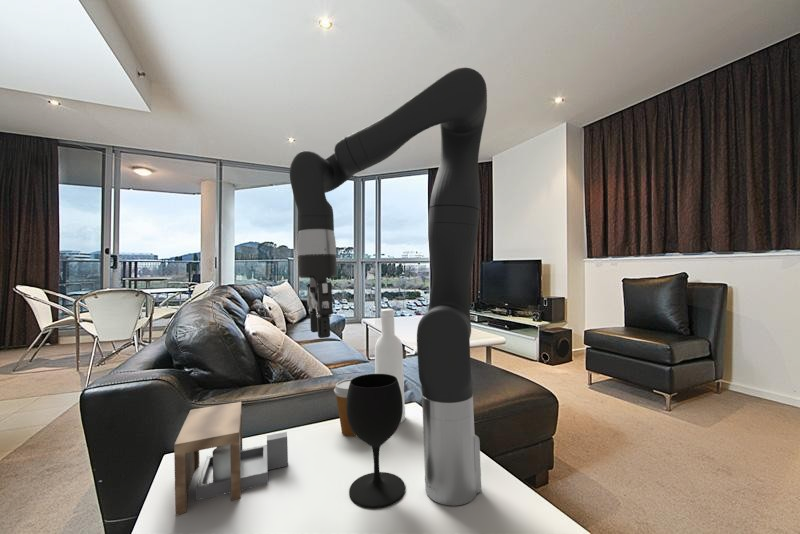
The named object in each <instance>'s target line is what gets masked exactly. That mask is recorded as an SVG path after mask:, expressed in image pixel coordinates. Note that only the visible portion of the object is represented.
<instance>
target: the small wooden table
mask: <svg viewBox="0 0 800 534" xmlns="http://www.w3.org/2000/svg"><path fill="white" fill-rule="evenodd" d="M242 408H243V407H242V401H237V402H231V403H223V404H218V405H212V406H205V407H200V408H194V409H190V410H189V413H188V415H187V416H186V419H185V420H184V422H183V425H182V426H181V429H180V431H179V433H178V436H177V438H176V439H175V440H176V441H175V442H174V444H173V445H174V447H173V449H174V450H173V451H174V452H173V453H174V457H173V458H174V460H173V461H174V503H175V506H174V508H175V509H174V512H175V516H178V515H177V514H179V515H182V514H186V513H187V510H188V491H189V488H190V486H191V481H192V477H193V476H194V471H195V468H199V466H200V451H202V450H208V449H211V448H212V449H213V448H217V447H218V446H223V445H228V444H230V459H231V492H230V496H231V497H230V499H231V501H236V500H240V499H241V496H242V495H241V493H242V490H241V479H240V450H243V417H242V416H243V412H242Z"/></svg>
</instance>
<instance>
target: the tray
mask: <svg viewBox="0 0 800 534" xmlns="http://www.w3.org/2000/svg"><path fill="white" fill-rule="evenodd" d="M288 452H289V451H288V431H285V432H279V433H273V434H269V435H266V444H264V445H259V446H253V447H249V448H242V450H240V479H241V491H243V490H247V489H246V488H248V489H251V488H250V487H252V488H256V487H261V486H265V485H268V483H269V482H268V478H269V477H268V476H269V475H268V474H269V473H268V471H270V470H275V469H279V468H284V467H288V466H289V453H288ZM255 486H256V487H255ZM242 489H243V490H242ZM229 492H230V493H231V459H230V444H228V445H223V446H218V447H215V448H214V449H213V450H212V455H207V456H206V458H205V461H204V464H203V467H202V469H201V472H200V475H199V479H198V481H197V484H196V488H195V493H196V494H195V495H196V497H195V498H196V500H195V501H200V500H203V499H204V500H205V499H209V498H212V497H217V496H221V494H222V495H225V494H224V493H226V494H229Z"/></svg>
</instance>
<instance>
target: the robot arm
mask: <svg viewBox="0 0 800 534" xmlns="http://www.w3.org/2000/svg"><path fill="white" fill-rule="evenodd" d="M487 108H488V90H487V83H486V81H485V78H484V76H483V75H482V74H481V73H480V72H479V71H477V70H475V69H473V68H471V67H459V68H458V67H457V68H455V69H453V70H451V71H449V72H447V73H445V74H444V75H442V76H440V77H439V78H438V79H437V80H436V81H433V83H432V84H430V85H429V86H426V88H424V89H422V91H420V92H419V93H417V94H416V95H415V96H413V97H411V98H410V99H409V100H408V101H406V102H404V103H403V104H402V105H400V106H399V107H397V108H396V109H394V110H393V111H391V112H389V113H388V114H387V115H385V116H383V117H382V118H380V119H378V120H376V121H375V122H373V123H370V124H369V125H367V126H365V127H363V128H361V129H358V130H357V131H355V132H353V133H350V134H349V135H346V136H344V137H342V138H341V139H339V140H338V141H337V142H336V143H335V145H334V147H333V151H334V152H333V153H331V155H329V156H327V157H326V158H324V157H322V156H321V155H320V154H318V153H316V152H315V151H312V150H309V149H308V150H302V151H299V152H297V153H296V154H295V155H294V157H292V160H291V162H290V166H289V179H290V180H289V181H290V185H291V190H292V193H293V198H294V202H295V204H296V209H297V224H298V225H297V226H298V227H297V229H298V230H297V231H298V232H297V233H298V235H297V265H298V266H297V270H298V271H297V273H298V277H299V278H300V279H309V282H307V283H306V296H307V299H306V300H307V307H306V309H307V311H308V314H309V315H310V316H309V320H310V322H309V323H310V324H309V325H310V331H311V333H317V337H318V338H319V339H325V338H330V337H331V322H330V319H331V316H332V315H333V313H334V307H333V283H332V282H330V281H329V282H328V280H327V279H328V278H333V277H336V276H337V275H338V274H337V273H338V272H337V271H338V270H337V269H338V268H337V248H336V247H337V245H336V244H337V242H336V237H335V228H334V227H335V223H334V221H335V220H334V210H333V207H332V205H331V204H330V202H329V201H328V199H327V197H326V196H327V195H326V193H329V192H331V191H334V190H336V189H337V188H339V187H340V186H342V185H343V184H344V183H346V182H347V181H348V180H349V179H351V178H352V177H353V176H355V174H357V173H360V172H363V171H364V170H366V169H369V168H371V167H373V166H375V165H377V164H380V163H381V162H383V161H385V160H386V159H388V158H389V157H391V156H393V154H395V153H396V152H397V151H399V149H400V148H402V147H403V146H404V145H405V144H406V143H408V142H409V141H410V140H411V139H412V138H414V137H416V136H417V135H418V134H420V133H422V132H424V131H426V130H429V129H430V128H432V127H435V126H438V125H439V127H440V159H439V160H440V161H439V166H438V169H437V173H436V176H435V179H434V183H433V187H432V190H431V194H430V202H429V212H428V224H427V225H428V227H427V233H428V234H427V237H428V239H427V241H428V249H429V258H430V265H431V276H432V277H431V291H430V296H429V297H430V298H429V303H428V309H427V312H425V314H424V315H422V317H421V318H420V320H419V322H418V325H417V328H416V329H417V330H416V350H417V351H416V352H417V355H416V356H417V369H418V378H419V379H418V380H419V382H420V385H421V401H422V403H421V405H422V426H423V427H422V429H423V430H422V431H423V456H424V461H423V462H424V487H425V493H426V495H427V496H428V498H430V499H431V500H433V501H435V502H436V503H438V504H440V505H445V506H461V505H466V504H467V503H468V504H469V502H471V501H473V500H474V499H475V498H476V496H477V494H478V493H480V492H481V493H482V473H481V471H482V470H481V468H482V467H481V447H480V445H481V444H480V443H481V442H480V437H479V436H478V435H477V434H475V419H474V418H475V417H474V415H475V414H474V412H475V411H474V389H473V388H474V387H473V386H474V385H473V379H472V378H473V377H472V368H471V366H472V365H471V349H470V348H471V345H470V341H471V340H470V339H471V335H472V323H471V308H470V307H471V304H470V301H471V300H470V298H471V297H470V296H471V295H470V286H471V284H470V282H471V277H472V276H471V275H472V270H473V266H474V261H475V260H474V259H475V255H476V247H477V239H478V232H479V219H480V205H481V204H480V199H481V197H480V193H481V192H480V174H479V154H480V147H481V141H482V136H483V129H484V124H485V120H486V115H487Z"/></svg>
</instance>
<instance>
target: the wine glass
mask: <svg viewBox="0 0 800 534" xmlns="http://www.w3.org/2000/svg"><path fill="white" fill-rule="evenodd" d="M351 379H352V380H351V381H350V385H349V389H348V393H347V400H346V413H347V419H348V423H349V425H350V427H351V429H352V431H353V432H354V433H355V435H356V436H355V437H357V438H358V439H359V440H361V442H363V443H365V444H366V445H368V446H370V447H371V448H372V449H371V450H372V456H373V472H371V473H369V472H368V473H366V474H363V475H362V476H359V477H358V478H356V479H355V480H354V481H353V482H352V483H351V485H350V486H349V489H348V495H349V499H350V501H352V502H353V503H354V504H355V505H356V506H358V507H361V508H365V509H371V510H372V509H373V510H375V509H383V508H387V507H390V506H392V505H394V504H396V503H397V502H399V501H400V500H401V499H402V498H403V496H404V495H405V494H406V484H405V482H404V481H403V479H402V478H401V477H400V476H398V475H396V474H393V473H391V472H384V471H380V449H381V446H383V444H385V443H386V442H388V441H389V439H390V438H391V437H393V436H394V435H395V433H396V432H397V430H398V429H399V426H400V425H401V423H400V421H401V418H402V413H403V402H402V394H401V390H400V386H399V383H398V380H397V378H396V377H395V376H392V375H388V374H375V373H369V374H363V375H359V376H358V375H357V377H354V378H351Z"/></svg>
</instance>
